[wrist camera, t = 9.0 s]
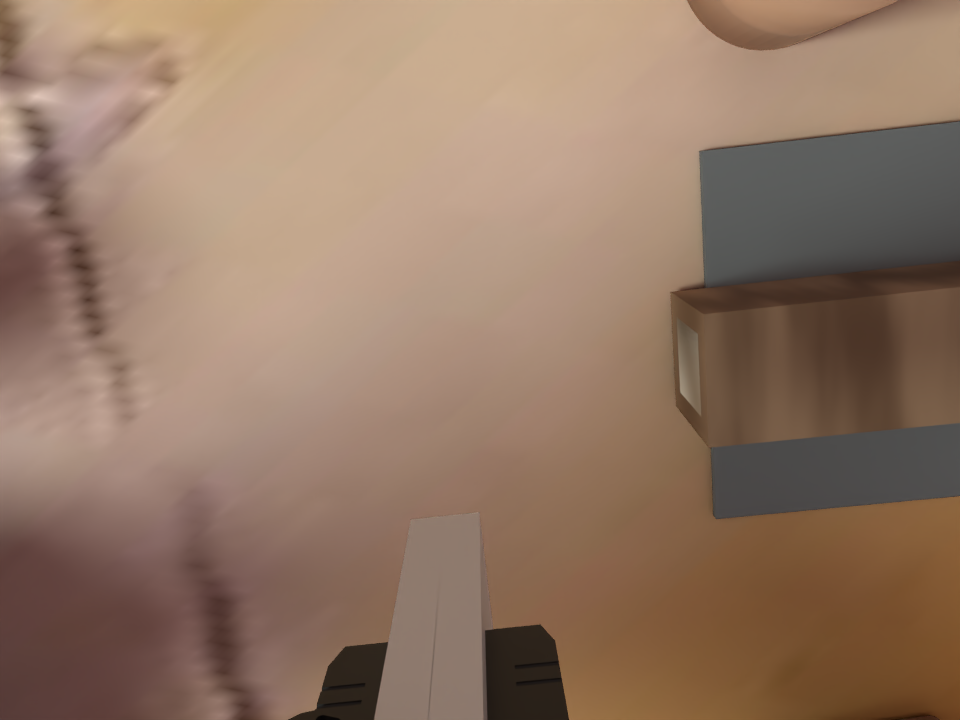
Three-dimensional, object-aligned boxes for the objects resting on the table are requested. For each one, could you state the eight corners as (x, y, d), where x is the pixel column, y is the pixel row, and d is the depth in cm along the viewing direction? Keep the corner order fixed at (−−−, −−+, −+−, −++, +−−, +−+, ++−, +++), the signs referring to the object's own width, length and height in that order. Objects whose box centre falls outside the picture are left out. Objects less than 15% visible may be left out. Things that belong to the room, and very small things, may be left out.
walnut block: (709, 447, 27) (1101, 409, 27) (703, 314, 26) (1114, 270, 26) (676, 406, 32) (1007, 372, 32) (670, 291, 31) (1015, 254, 30)
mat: (713, 514, 34) (715, 518, 33) (699, 151, 30) (702, 151, 30) (1075, 480, 33) (1082, 484, 33) (1108, 104, 29) (1117, 103, 29)
